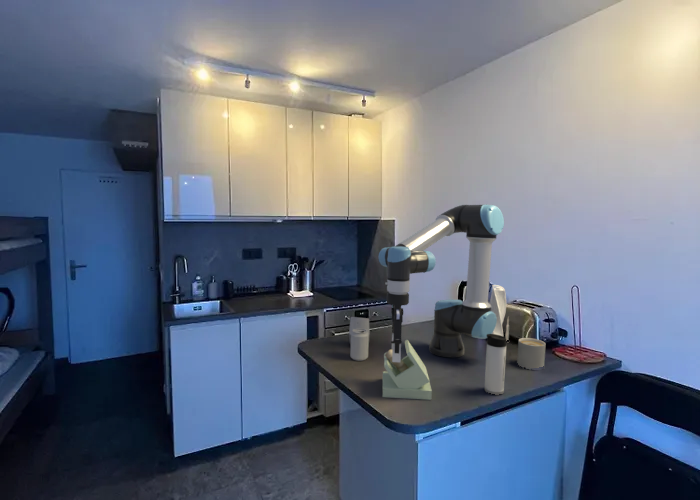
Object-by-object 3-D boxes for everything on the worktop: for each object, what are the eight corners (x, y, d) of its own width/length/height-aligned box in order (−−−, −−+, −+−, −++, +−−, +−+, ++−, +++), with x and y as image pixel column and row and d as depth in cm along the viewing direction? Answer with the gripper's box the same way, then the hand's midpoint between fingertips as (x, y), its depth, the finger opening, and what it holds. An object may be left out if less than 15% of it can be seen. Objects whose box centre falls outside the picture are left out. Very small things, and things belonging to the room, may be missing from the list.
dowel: (415, 373, 138) (391, 348, 138) (415, 376, 135) (391, 350, 135) (408, 378, 138) (384, 353, 139) (408, 382, 135) (384, 357, 135)
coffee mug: (535, 372, 154) (536, 347, 153) (512, 364, 162) (513, 340, 161) (553, 365, 161) (555, 341, 160) (530, 358, 170) (532, 335, 169)
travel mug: (480, 387, 140) (483, 332, 138) (498, 387, 140) (501, 332, 138) (488, 395, 133) (491, 338, 131) (506, 395, 134) (510, 337, 132)
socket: (426, 381, 143) (428, 339, 142) (431, 399, 130) (433, 353, 128) (382, 379, 145) (383, 337, 143) (382, 397, 131) (383, 351, 129)
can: (366, 362, 161) (367, 333, 160) (348, 360, 162) (349, 332, 161) (369, 355, 168) (370, 328, 167) (352, 354, 170) (352, 326, 169)
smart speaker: (371, 343, 185) (371, 313, 183) (367, 349, 176) (367, 318, 174) (351, 341, 187) (352, 312, 186) (346, 347, 178) (347, 317, 177)
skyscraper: (497, 345, 186) (500, 286, 184) (483, 340, 193) (486, 283, 191) (509, 342, 190) (512, 285, 188) (495, 337, 198) (499, 282, 195)
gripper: (386, 285, 145) (384, 345, 147) (387, 298, 124) (385, 368, 126) (407, 286, 145) (405, 346, 147) (411, 299, 123) (408, 369, 125)
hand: (395, 356), depth 136 cm, fingers open, 9 cm apart
